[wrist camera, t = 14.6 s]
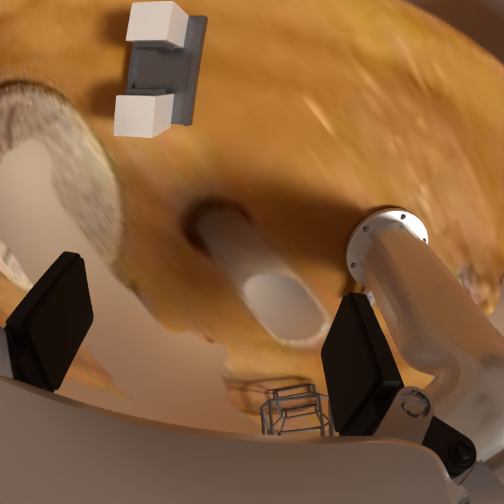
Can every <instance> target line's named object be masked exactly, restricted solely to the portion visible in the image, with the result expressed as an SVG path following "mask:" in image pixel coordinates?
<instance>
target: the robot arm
mask: <svg viewBox="0 0 504 504" xmlns="http://www.w3.org/2000/svg"><path fill="white" fill-rule="evenodd" d="M346 263H347V267H348V269H349V272H350V273H351V275H352V277H353V278H354V279H355V280H356V281H357V282H358V283H359V284H361V285H363V286H364V287H365V289H364V291H363V293H364V294H362V293H353V292H350V293H349V294H348V296H344V297H343V299H342V301H341V304H340V306H339V309H338V311H337V314H336V316H335V318H334V321H333V323H332V326H331V328H330V330H329V333H328V335H327V338H326V340H325V342H324V344H323V347H322V350H321V358H322V364H323V369H324V374H325V379H326V385H327V390H328V396H329V401H330V407H331V413H332V419H333V424H334V429H335V431H336V432H339V436H328V437H326V436H279V435H278V436H277V435H261V434H248V433H237V432H227V431H218V430H210V429H203V428H196V427H189V426H182V425H177V424H171V423H166V422H160V421H155V420H150V419H146V418H140V417H136V416H132V415H128V414H124V413H120V412H115V411H112V410H108V409H104V408H100V407H97V406H93V405H90V404H86V403H83V402H80V401H76V400H73V399H70V398H67V397H64V396H61V395H58V394H55V393H54V391H55V390H58V389H59V387H60V386H61V383H62V381H63V379H64V377H65V375H66V373H67V371H68V369H69V367H70V365H71V363H72V361H73V359H74V357H75V355H76V353H77V351H78V349H79V347H80V345H81V343H82V341H83V339H84V338H85V336H86V334H87V332H88V330H89V328H90V326H91V325H92V322H93V310H92V305H91V300H90V294H89V289H88V283H87V277H86V270H85V263H84V260H83V258H81V257H80V255H79V254H78V253H73V252H63V253H62V254H61V255H60V256H59V258H58V259H57V260H56V261H55V262H54V263H53V264H52V265H51V266H50V268H49V269H48V270H47V271H46V272H45V273H44V275H43V276H42V277H41V278H40V279H39V281H38V282H37V283H36V284H35V285H34V286H33V287H32V289H31V290H30V291H29V292H28V294H27V295H26V296H25V297H24V299H23V300H22V301H21V302H20V304H19V305H18V306H17V307H16V309H15V310H14V311H13V313H12V314H11V315H10V317H9V318H8V319H7V321H6V324H7V325H6V326H5V328H4V329H3V328H2V327H1V326H0V504H504V337H503V336H502V335H501V333H500V332H499V331H498V330H497V329H496V328H495V327H494V326H493V325H492V323H491V322H490V321H489V319H488V318H487V317H486V316H485V314H484V313H483V312H482V311H481V309H480V308H479V307H478V306H477V304H476V303H475V302H474V300H473V299H472V298H471V296H470V295H469V294H468V293H467V291H466V290H465V289H464V288H463V286H462V285H461V284H460V282H459V281H458V280H457V279H456V277H455V276H454V275H453V274H452V273H451V271H450V270H449V269H448V268H447V266H446V265H445V264H444V263H443V262H442V261H441V259H440V258H439V257H438V256H437V255H436V253H435V252H434V251H433V250H432V249H431V248H430V247H429V245H428V235H427V231H426V228H425V226H424V224H423V223H422V222H421V220H420V219H419V218H418V217H417V216H416V215H414V214H413V213H411V212H410V211H408V210H405V209H401V208H387V209H382V210H379V211H376V212H375V213H373V214H371V215H369V216H368V217H366V218H365V219H364V220H363V221H361V222H360V224H359V225H358V226H357V227H356V228H355V229H354V231H353V233H352V234H351V236H350V238H349V241H348V243H347V247H346ZM375 300H376V302H377V307H378V308H379V309H380V311H381V313H382V315H383V318H384V320H385V322H386V324H387V327H388V329H389V331H390V333H391V336H392V338H393V340H394V343H395V345H396V347H397V349H398V352H399V354H400V355H401V357H402V359H403V360H404V361H405V362H406V363H407V364H408V365H409V366H410V367H412V368H414V369H416V370H418V371H420V372H423V373H426V374H430V375H434V376H435V378H434V379H433V381H432V382H431V383H430V384H429V385H427V386H426V387H425V388H424V389H420V388H417V387H413V386H408V387H405V386H404V384H403V381H402V378H401V376H400V373H399V370H398V368H397V365H396V363H395V360H394V358H393V355H392V353H391V350H390V348H389V345H388V343H387V340H386V338H385V335H384V334H383V332H382V330H381V328H380V325H379V323H378V321H377V318H376V316H375V313H374V311H373V309H372V308H373V306H374V302H375Z"/></svg>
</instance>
